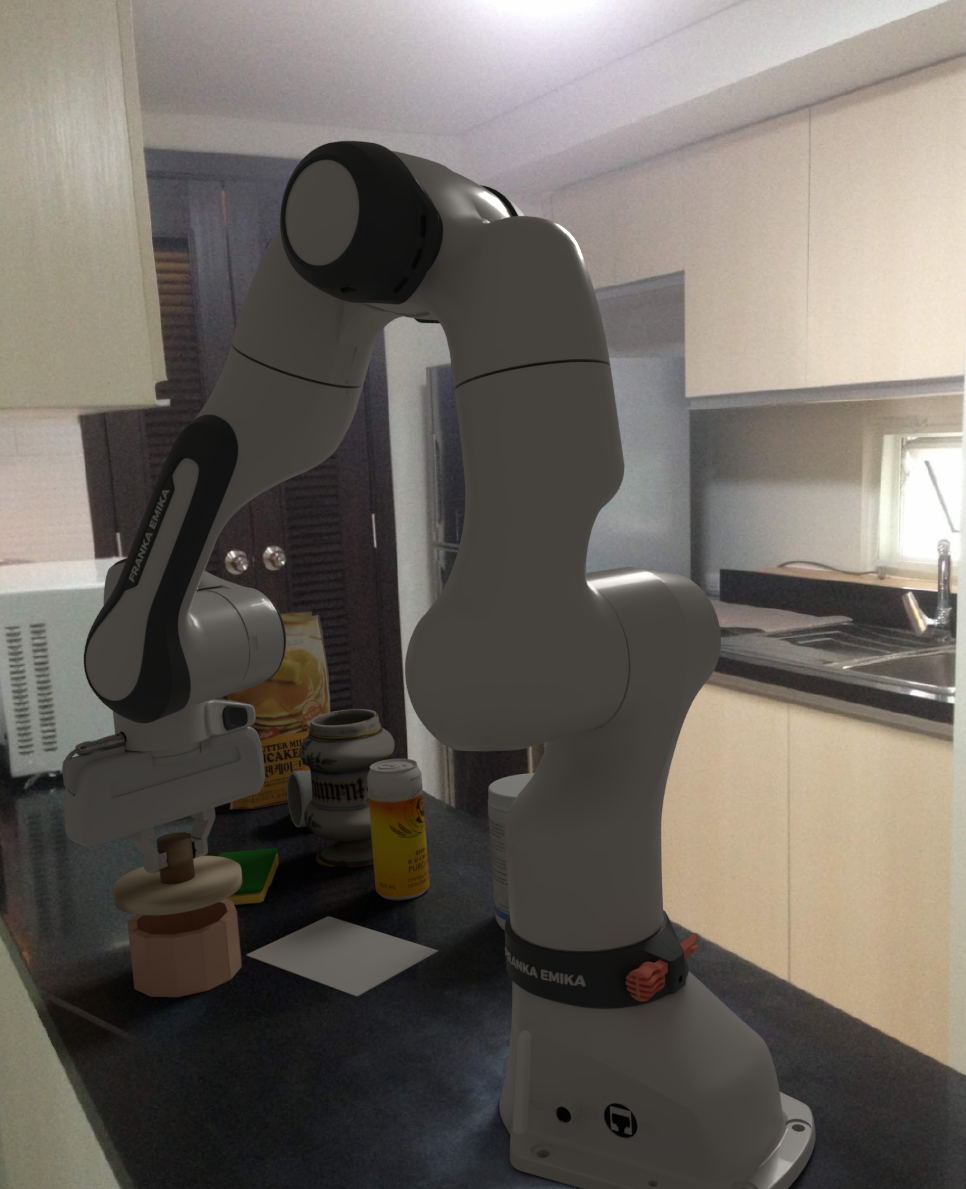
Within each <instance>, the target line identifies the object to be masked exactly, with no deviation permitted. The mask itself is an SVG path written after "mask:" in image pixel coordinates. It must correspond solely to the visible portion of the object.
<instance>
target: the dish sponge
mask: <svg viewBox="0 0 966 1189" xmlns="http://www.w3.org/2000/svg"><path fill="white" fill-rule="evenodd" d="M217 857H224V858H228V859H231V860H234V861H235V862H237V863H238V864H239V865H240V866H241V871H242V885H241V887H240V888H239V889H238V890H237V891H236V892H235V893H234V894H232V895H231V896H229V897H228V898H226V899H227V900H231V901H233V903H234V906H235V905H247V904H248V905H249V904H259V903H262V902H264V900H265V898H266V895H267V892H268V890H269V887H271V885H272V883H273V880H274V877H275V875H276V871H277V869H278V866H279V855H278V848H276V847H271V848H260V849H252V850H238V851H226V852H221V853H219V854H218V856H217Z"/></svg>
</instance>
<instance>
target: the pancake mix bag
mask: <svg viewBox="0 0 966 1189" xmlns="http://www.w3.org/2000/svg"><path fill="white" fill-rule="evenodd" d="M280 614H281V616H282V619H283V622H284V626H285V631H286V650H285V655H284V658H283V661H282V664H281V666H280V668H279V670H278V671H277V673H276V674H275V675H274V676H273V677H272V678H270V679H269V680H267V681H264V682H263V683H261V684H259V685H257V686H254V687H252V688H248V689H245V690H242V691H238V692H235V693H231V694H229V695H227V696H224V697H221V698H222V700H230V701H236V702H241V703H246V704H250V705H252V706H253V707H254V709H255V715H256V717H255V722H254V724H253V725H251V726H250V727H252V728H254V729H255V730H256V732H257V733H258V735H259V738H260V742H261V747H262V752H263V760H264V769H265V781H264V783H263V786H262V788H261V790H260V792H258V793H256V794H253V795H250V796H247V797H244V798H241V799H238V800H235V801H232V802H229V803H230V804H229V810H239V809H240V810H255V809H260V808H267V807H271V806H276V805H278V806H279V805H282V804H288V799H287V783H288V778H289V775H290V774H291V773H292V772H294V771H306V770H310V767H308V766H307V765H305V764H304V763H303V761H302V760H301V758H300V755H299V749H300V745H301V743H302V742H303V740H304V739H305V738H306V737H307V736H308V735H309V730H310V723H311V720H312V719H313V718H314V717H316V716H319V715H322V714H325V713H329V712H331V694H330V676H329V668H328V666H329V665H328V661H327V654H326V653H327V652H326V648H325V643H324V632H323V627H322V622H321V618H320V615H319V614H316V615H312V614H313V610H298V611H291V612H283V613H280Z"/></svg>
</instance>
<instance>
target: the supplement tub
mask: <svg viewBox="0 0 966 1189" xmlns="http://www.w3.org/2000/svg"><path fill="white" fill-rule="evenodd" d="M534 773H535V772H532V773H529V772H528V773H522V774H513V775H509V776H505V777H501V778H499V779H497V780H494V781H493V782H491V783H490V784H489V785H488V790H487V793H488V799H487V814H488V815H487V816H488V827H489V829H488V831H489V844H490V857H491V859H490V860H491V870H492V874H491V875H492V883H493V884H492V886H493V901H494V913H495V921H496V923H497V925H498V926H499V927H500V928H501V929H502V930H503V931H505V922H506V919H507V917H508V916H509V915H510V912H509V897H508V882H507V866H506V850H505V834H504V830H505V822H506V818H507V814H508V812H509V809H510V807H511V805H512V803H513V802H514V800H515V798H516V797H517V796H518V794H519V793H520V792H521V791H522V789H523V788H524V787H525V786H526V785H527V783H528V782H529V781H530V779H531V778H532V777H533V775H534Z"/></svg>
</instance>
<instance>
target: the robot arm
mask: <svg viewBox="0 0 966 1189" xmlns="http://www.w3.org/2000/svg"><path fill="white" fill-rule="evenodd" d="M279 212H280V214H279V230H280V231H278V232H277V233H275V235H274V236H273V238H271V240H270V242H269V243H268V246H267V247H266V249H265V251H264V254H263V256H262V258H261V260H260V262H259V264H258V265H257V268H256V270H255V273H254V276H253V278H252V280H251V283H250V285H249V288H248V291H247V293H246V296H245V298H244V301H243V304H242V307H241V310H240V313H239V315H238V319H237V321H236V325H235V330H234V334H233V336H232V341H231V345H230V348H229V352H228V355H227V359H226V361H225V363H224V367H223V369H222V371H221V374H220V376H219V378H218V380H217V383H216V384H215V386H214V388H213V390H212V392H211V394H210V396H209V397H208V399H207V401H206V402H205V403H204V405H203V407H202V409H201V410H200V411H199V413H198V414H197V415H196V416H195V418H194V419H193V420H192V421H191V422H190V423H189V424H188V425H187V426H186V427H185V428H184V429H182V430H181V432H180V434H179V435H178V436H177V438H176V440H175V441H174V443H173V445H172V447H171V448H170V450H169V451H168V455H167V457H166V459H165V461H164V463H163V466H162V469H161V471H160V472H159V475H158V478H157V480H156V483H155V485H154V487H153V490H152V492H151V495H150V498H149V501H148V503H147V505H146V508H145V511H144V513H143V516H142V518H141V521H140V523H139V526H138V528H137V531H136V534H135V536H134V538H133V542H132V545H131V546H130V549H129V552H128V554H127V557H126V558H123V559H120V560H118V561H116V562H115V563H114V564H113V565H111V566H110V567H109V568H108V569H107V572H106V575H105V581H104V586H103V606H102V608H101V609H100V610H99V612H98V614H97V615H96V617H95V619H94V620H93V623H92V624H91V626H90V629H89V632H88V634H87V637H86V640H85V645H84V650H83V651H84V652H83V668H84V669H83V670H84V674H85V678H86V680H87V683H88V686H89V687H90V689H91V690H92V692H93V693H94V694H95V695H96V697H97V698H98V700H100V701H101V703H103V704H104V706H106V707H107V708H109V709H110V710H111V711H112V718H113V727H114V734H111V735H107V736H104V737H100V738H99V739H96V740H92V741H91V740H86V741H83V742H81V743H78V744H77V745H75V747H74V749H73V750H71V751H69V753H68V754H67V755H66V757H65V758H64V760H63V761H62V766H61V770H62V778H63V785H64V787H65V790H64V791H65V792H64V793H65V794H64V828H65V829H64V831H65V833H66V836H67V837H68V838H69V839H70V840H71V841H73V843H75V844H77V845H79V846H80V845H81V846H84V847H86V848H87V847H88V848H97V847H100V846H103V845H105V844H109V843H111V842H114V841H117V840H120V839H124V838H126V837H129V840H130V842H132V844H133V845H134V846H135V848H137V850H138V851H139V852H140V854H141V855H142V861H143V866H144V869H145V871H146V872H148V873H151V874H154V873H157V872H159V871H162V870H164V869H167V867H168V863H167V862H166V860H167V853H166V852H165V851H160V850H158V849H157V848H155V846H154V845H153V843H152V842H151V840H153V839H155V837H156V836H155V828H156V827H160V826H163V825H165V824H169V823H171V822H175V821H177V820H178V821H179V820H181V819H184V818H187V817H189V816H190V818H192V819H195V820H194V822H193V827H192V830H191V833H190V834H191V840H192V850H193V859H195V858H197V857H200V856H207V854H209V849H208V848H209V846H208V838H209V835H210V833H211V830H212V828H213V825H214V822H215V820H216V809H215V808H217V807H220V806H223V805H226V804H229V803H230V802H232V801H235V800H238V799H241V798H244V797H247V796H250V795H253V794H256V793H258V792H260V790H261V788H262V786H263V783H264V781H265V769H264V760H263V752H262V747H261V742H260V738H259V735H258V733H257V732H256V730H255V729H254V728H252V727H250V726H251V725H253V724H254V722H255V717H256V715H255V709H254V707H253V706H252V705H250V704H246V703H241V702H236V701H230V700H222V698H221V697H224V696H227V695H229V694H231V693H235V692H238V691H242V690H245V689H248V688H252V687H254V686H257V685H259V684H261V683H263V682H264V681H267V680H269V679H270V678H272V677H273V676H274V675H275V674H276V673H277V671H278V670H279V668H280V666H281V664H282V661H283V658H284V655H285V650H286V631H285V626H284V622H283V619H282V616H281V614H282V613H281V612H280V610H279V608H278V607H277V605H276V604H275V603H274V601H273V600H272V599H271V598H270V597H269V596H268V594H266V593H264V592H263V591H262V590H260V589H259V588H256V587H254V586H253V587H252V586H243V585H240V584H238V583H234V582H231V581H228V580H226V579H222V578H221V577H218V576H216V575H214V574H212V573H210V572H208V571H207V570H206V568H207V566H208V563H209V561H210V558H211V556H212V554H213V551H214V548H215V546H216V543H217V541H218V538H219V537H220V534H221V533H222V530H223V529H224V528H225V526H226V525H227V523H228V522H229V521H230V519H231V518H232V517H234V515H235V514H236V513H237V512H238V511H239V510H240V509H241V508H243V507H244V506H245V505H247V504H248V503H249V502H251V501H252V500H254V499H255V498H257V496H260V495H261V494H263V493H265V492H266V491H268V490H270V489H271V488H274V487H276V486H278V485H279V484H281V483H283V482H285V481H287V480H290V479H292V478H294V477H297V476H298V475H302V474H304V473H306V472H308V471H310V470H313V469H314V468H316V467H317V466H319V465H321V464H323V463H324V462H325V461H326V460H327V459H328V458H330V457H331V456H332V455H333V454H334V453H335V452H336V450H337V449H338V448H339V446H340V445H341V443H342V441H343V439H344V438H345V436H346V434H347V432H348V430H349V428H350V426H351V425H352V421H353V420H354V417H355V414H356V411H357V408H358V406H359V405H358V404H359V400H360V398H361V394H362V391H363V387H364V383H365V380H366V376H367V373H368V368H369V365H370V362H371V358H372V355H373V351H374V348H375V345H376V343H377V341H378V337H379V336H380V335H381V332H382V331H383V330H384V329H385V327H386V326H388V324H390V323H391V322H393V321H395V320H396V319H399V318H402V317H404V318H411V319H414V320H415V321H416V322H417V323H419V324H439V325H440V327H441V328H442V329H443V332H444V335H445V338H446V342H447V347H448V351H449V358H450V368H451V374H452V383H453V390H454V397H455V405H456V406H455V407H456V412H457V420H458V428H459V436H460V438H459V439H460V445H461V455H462V463H463V464H462V465H463V475H464V476H463V477H464V487H465V500H464V502H465V503H464V504H465V505H464V517H463V527H462V532H461V537H460V542H459V546H458V550H457V554H456V556H455V560H454V562H453V565H452V569H451V571H450V574H449V577H448V579H447V581H446V582H445V585H444V587H443V589H442V591H441V592H440V594H439V595H438V597H437V598H436V600H435V601H434V603H433V604H432V605H431V607H429V609H428V610H427V611H426V612H425V614H424V615H423V616H422V617H421V618H420V619H419V620H418V622H417V624H416V625H415V628H414V629H413V630H412V631H413V632H412V633H411V637H410V638H409V642H408V645H407V650H406V655H405V660H404V661H405V663H404V675H405V676H404V677H405V685H406V686H405V687H406V690H407V694H408V698H409V701H410V704H411V706H412V708H413V710H414V713H415V714H416V716H417V718H418V719H419V721H420V722H421V723H422V725H423V726H424V727H425V729H426V730H427V731H428V732H429V733H430V734H431V735H432V736H433V737H434V738H435V739H436V740H437V741H439V742H440V743H441V744H442V745H444V746H446V747H447V748H449V749H450V748H451V749H452V750H455V751H460V752H461V751H462V752H463V751H464V752H498V751H519V750H520V751H521V750H524V749H528V748H532V747H535V746H538V745H543V744H546V745H545V749H544V751H543V753H542V756H541V759H540V762H539V764H538V766H537V768H536V770H535V772H533V773H534V775H533V777H532V778H531V779H530V781H529V782H528V783H527V785H526V786H525V787H524V788H523V789H522V791H521V792H520V793H519V794H518V796H517V797H516V798H515V800H514V802H513V803H512V805H511V807H510V809H509V812H508V814H507V818H506V822H505V830H504V834H505V850H506V866H507V882H508V897H509V912H510V915H509V916H508V917H507V919H506V922H505V930H504V940H505V941H504V943H505V944H504V945H505V946H504V951H505V952H504V953H505V954H504V955H505V964H506V972H507V975H508V977H509V978H510V979H511V980H512V981H511V982H512V983H511V984H512V985H511V986H512V989H511V990H512V991H511V992H512V994H511V995H512V997H511V1000H512V1001H511V1005H512V1006H511V1026H510V1027H511V1028H510V1029H511V1030H510V1041H509V1051H508V1059H507V1065H506V1071H505V1076H504V1082H503V1087H502V1090H501V1094H500V1097H499V1104H498V1106H499V1113H500V1114H499V1115H500V1117H501V1119H502V1120H501V1121H502V1122H503V1125H504V1126H505V1129H506V1130H507V1132H508V1134H509V1136H510V1138H509V1139H510V1140H509V1141H510V1142H509V1162H510V1165H511V1166H512V1167H513V1168H514V1169H515V1170H518V1171H519V1172H524V1173H526V1174H530V1175H534V1176H538V1177H540V1178H545V1179H548V1180H552V1181H555V1182H559V1183H561V1184H565V1185H569V1186H573V1187H575V1188H576V1187H577V1188H579V1189H789V1188H790V1187H791V1186H792V1184H793V1183H794V1182H795V1181H796V1180H797V1178H798V1177H799V1176H800V1174H801V1173H802V1172H803V1170H804V1168H805V1167H806V1166H807V1164H808V1161H810V1159H811V1156H812V1154H813V1150H814V1148H815V1145H816V1144H815V1143H816V1138H817V1136H816V1126H815V1125H816V1124H815V1119H814V1115H813V1113H812V1109H811V1108H810V1107H809V1106H808V1105H807V1104H806V1103H804V1102H802V1101H800V1100H798V1099H796V1098H794V1097H792V1096H790V1095H788V1094H786V1093H784V1092H782V1091H780V1086H779V1085H780V1084H779V1081H778V1077H777V1071H776V1068H775V1064H774V1061H773V1056H772V1054H771V1052H770V1049H769V1047H768V1045H767V1043H766V1041H765V1040H764V1039H763V1038H762V1036H760V1035H759V1033H757V1032H756V1031H755V1030H754V1029H752V1027H750V1026H749V1025H748V1024H747V1023H746V1022H745V1021H744V1020H742V1019H741V1018H740V1017H739V1016H738V1015H737V1014H736V1013H735V1012H734V1011H732V1010H731V1009H730V1008H729V1007H728V1006H727V1005H726V1004H725V1003H724V1002H723V1001H721V999H719V998H718V997H717V995H715V994H714V993H713V992H712V991H711V990H710V989H709V988H708V987H707V986H706V985H705V984H704V983H702V981H700V980H699V979H698V978H697V977H696V976H695V975H694V974H693V973H692V972H691V971H690V970H689V969H690V967H689V963H688V960H687V958H689V957H690V956H692V954H694V953H695V952H696V951H697V950H698V949H699V948H700V946H699V944H696V942H697V939H698V938H699V934H698V933H696V932H695V933H693V934H692V935H690V936H689V937H687V938H686V939H685V940H683V941H682V942H680V941H679V937H678V936H677V933H676V931H675V929H674V926H673V923H672V922H671V920H670V917H669V915H668V914H667V912H666V910H664V899H663V895H664V894H663V871H662V868H663V866H662V865H663V864H662V860H663V859H662V820H663V819H662V816H663V815H662V814H663V807H664V799H665V792H666V788H667V782H668V778H669V774H670V769H671V767H672V766H671V765H672V761H673V759H674V754H675V751H676V748H677V744H678V740H679V737H680V734H681V731H682V729H683V726H684V722H685V720H686V717H687V715H688V713H689V711H690V708H691V706H692V704H693V702H694V701H695V699H696V698H697V696H698V694H699V692H700V691H701V689H702V688H703V687H704V686H705V684H706V683H707V681H708V680H709V678H710V677H712V675H713V673H714V671H715V669H716V667H717V665H718V661H719V659H720V654H721V649H722V648H721V647H722V632H721V626H720V620H719V618H718V615H717V612H716V609H715V607H714V605H713V603H712V602H711V600H710V598H709V597H708V595H707V594H706V592H704V590H703V589H702V588H701V587H700V586H699V585H698V584H697V583H695V582H694V581H693V580H692V579H690V578H689V577H686V576H684V575H682V574H680V573H676V572H671V571H666V570H665V571H664V570H660V569H651V568H644V567H642V568H641V567H633V566H626V567H625V566H624V567H623V566H622V567H617V568H611V569H604V570H597V571H591V572H587V556H588V550H589V543H590V538H591V534H592V530H593V527H594V525H595V523H596V522H595V521H596V520H597V517H598V516H599V513H600V512H601V510H602V509H603V508H604V507H605V506H607V504H609V503H610V501H612V499H613V498H614V497H615V496H616V494H617V493H618V491H619V489H621V488H620V487H621V485H622V483H623V482H624V481H623V480H624V476H625V459H624V453H623V445H622V444H623V443H622V438H621V430H620V429H621V428H620V423H619V416H618V409H617V403H616V401H617V400H616V394H615V387H614V381H613V374H612V367H611V361H610V356H609V348H608V343H607V339H606V334H605V329H604V323H603V319H602V315H601V311H600V307H599V303H598V299H597V295H596V292H595V288H594V286H593V282H592V279H591V275H590V272H589V270H588V266H587V263H586V260H585V258H584V255H583V253H582V251H581V247H580V245H579V243H578V241H577V240H576V238H575V237H574V236H573V235H572V234H571V233H570V232H569V230H567V229H566V228H565V227H564V226H562V225H560V224H558V223H557V222H555V221H553V220H549V219H546V218H543V217H539V216H538V217H537V216H530V215H527V216H526V214H524V213H523V211H522V210H521V209H520V208H519V207H518V206H517V205H516V204H515V203H514V202H513V201H512V200H511V199H509V198H508V197H507V196H506V195H504V194H503V193H502V192H500V191H498V190H497V189H495V188H492V187H491V186H490V187H489V186H487V185H481V184H479V183H476V182H475V181H474V180H473V179H470V178H468V177H465V176H464V175H462V174H460V173H458V172H456V171H453V170H452V169H451V168H449V167H447V166H446V165H444V164H441V163H439V162H437V161H433V160H430V159H428V158H425V157H422V156H421V157H420V156H416V155H413V154H409V153H405V152H399V151H395V150H390V149H389V148H388V147H386V146H384V145H381V144H380V143H376V142H371V141H370V142H369V141H362V140H360V141H358V140H339V141H333V142H332V141H331V142H328V143H324V144H321V145H319V146H318V147H315V148H314V149H313V150H311V151H309V153H307V154H306V155H305V156H304V157H303V158H302V159H301V160H300V162H299V163H298V164H297V165H296V167H295V168H294V170H293V171H292V173H291V175H290V177H289V179H288V181H287V183H286V186H285V189H284V192H283V195H282V200H281V205H280V211H279Z"/></svg>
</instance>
